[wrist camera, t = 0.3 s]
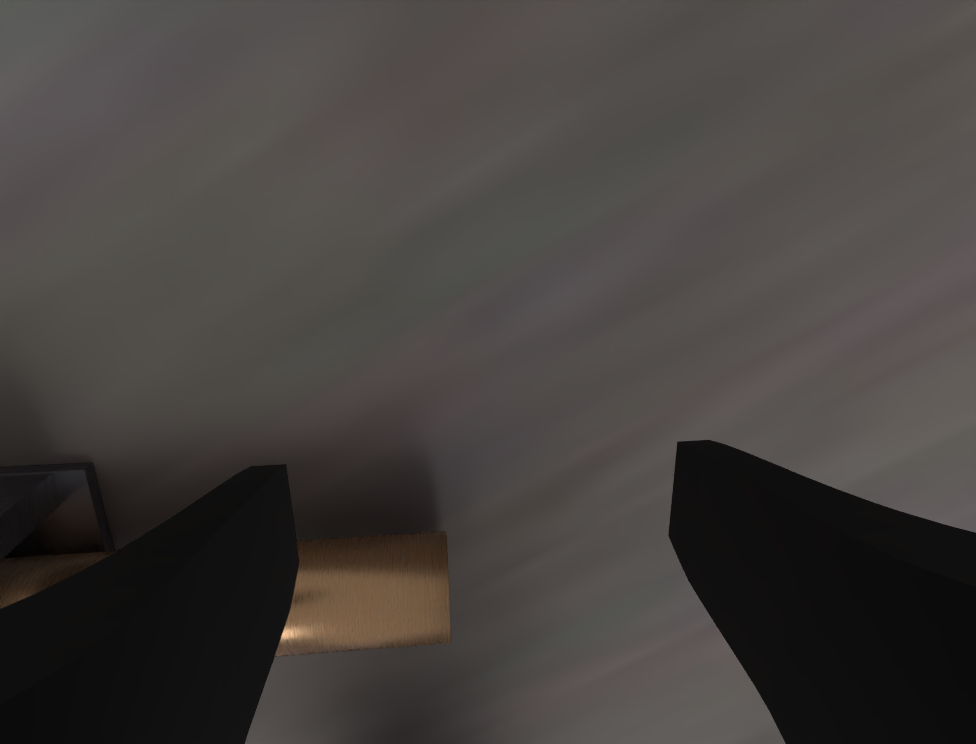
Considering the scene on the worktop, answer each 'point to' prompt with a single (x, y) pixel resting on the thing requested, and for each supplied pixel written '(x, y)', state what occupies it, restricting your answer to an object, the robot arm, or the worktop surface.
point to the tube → (320, 591)
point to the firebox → (51, 511)
